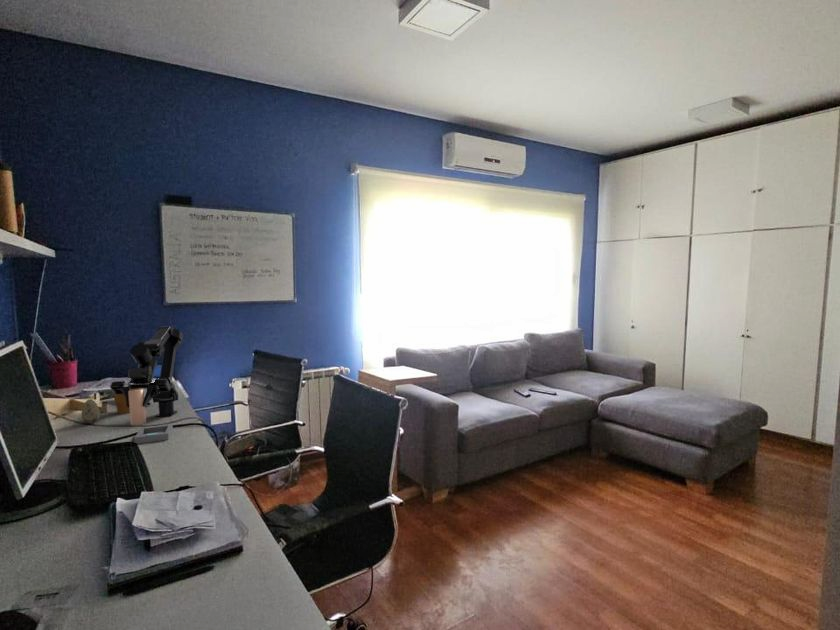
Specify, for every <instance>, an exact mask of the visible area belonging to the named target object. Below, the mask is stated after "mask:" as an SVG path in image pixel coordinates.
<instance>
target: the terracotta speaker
mask: <svg viewBox="0 0 840 630" xmlns="http://www.w3.org/2000/svg"><path fill="white" fill-rule="evenodd" d="M128 394H129V409H130V413H129V419H130V420H129V421H130V422H129V423H130V425H131V426H137V425H143V424H145V423H146V422H147V418H146V417H147V416H146V406H145V407H143V401H144V397H145V389H143V388H137V389H131V390H129V391H128Z"/></svg>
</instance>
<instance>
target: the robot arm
mask: <svg viewBox="0 0 840 630" xmlns="http://www.w3.org/2000/svg"><path fill="white" fill-rule="evenodd" d="M183 341H184V333H183V332H182V331H181V330H179V329H176V328H174V327H173V326H159V327H158V331H157V332H156V333H155V334H154V335H153V336H152V338H151V339H150V340H146V341H139V342H138V343H137V344H135V345H133V346H132V347H131V348H130V349H129V354H130V355H131V357H132V358H133V360H134V361H135V363H136V364H138V365H137V368H129V369H128V375H127V378H129V379H130V380H131V382H133V384H129V383H130V382H129V383H128V382H126V381H125V380H115V381H112V382H111V383H110V386H109V388H110V389H111V392H112V391H113V392H114V393H115V394H117V395H119V394H124V395H125V397H126V404H127V407H128V408H129V394H128V391H129V390H131V389H137V388H143V389H144V390H145V389H146V391H145V392H146V393H145V394H144V397H145V398H144V401H143V407H145V408H146V406H148V405H147V403H148V402H149V403H150V401H151V400H152V403H158V413H157V414H156V415H155V417H156V418H157V417H159V418H160V417H172V416H173V415H175V414H176V413H178V412H177V411H178V410H175V405H174V404H175V403H174V402H176V401H179V393H178V391H177V389H176V385H175V383H174V382H173V376H174V375H173V374H174V367H175V362H176V355H177V350H178V349H179V348H180V347H181V345H182V342H183ZM162 355H163V356H162ZM161 356H162V363H161V364H162V367H161V374H160V378H159V379H156V380H155V382H154V383H151V382H152V378H154V375H153V374H154V370H155V367H156V366H157V363H158V361H157V359H156V358H160V357H161ZM113 392H112V393H113Z"/></svg>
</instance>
